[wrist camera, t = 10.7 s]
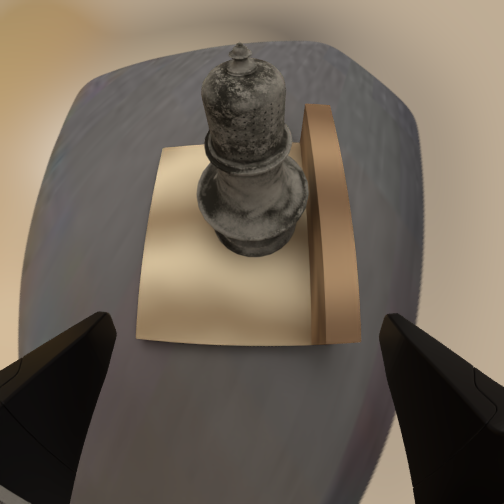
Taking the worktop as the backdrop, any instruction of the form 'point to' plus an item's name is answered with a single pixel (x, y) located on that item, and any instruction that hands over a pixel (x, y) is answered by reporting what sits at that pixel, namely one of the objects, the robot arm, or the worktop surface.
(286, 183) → the grey tall rounded piece
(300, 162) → the board
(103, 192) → the worktop surface
